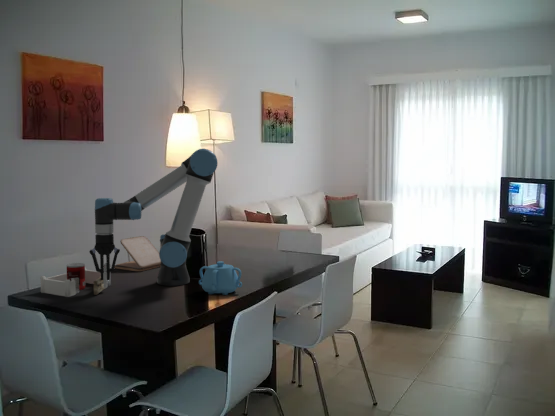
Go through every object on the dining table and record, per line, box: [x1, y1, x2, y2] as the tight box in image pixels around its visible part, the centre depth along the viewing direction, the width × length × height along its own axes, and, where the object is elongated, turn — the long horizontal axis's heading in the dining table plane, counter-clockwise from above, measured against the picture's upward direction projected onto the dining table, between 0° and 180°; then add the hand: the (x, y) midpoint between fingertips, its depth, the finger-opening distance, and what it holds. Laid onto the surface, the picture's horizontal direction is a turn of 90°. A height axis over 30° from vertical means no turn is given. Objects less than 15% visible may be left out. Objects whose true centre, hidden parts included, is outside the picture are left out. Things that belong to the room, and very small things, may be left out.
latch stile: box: [71, 277, 80, 294], centre depth 240 cm, size 2×2×6 cm
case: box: [114, 235, 161, 273], centre depth 297 cm, size 20×21×16 cm
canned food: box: [66, 262, 86, 291], centre depth 247 cm, size 8×8×11 cm
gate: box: [93, 277, 106, 296], centre depth 243 cm, size 15×1×6 cm, turn 1°
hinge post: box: [104, 262, 112, 287], centre depth 253 cm, size 3×3×11 cm
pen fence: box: [40, 266, 103, 298], centre depth 247 cm, size 17×25×7 cm
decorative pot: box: [198, 260, 243, 296], centre depth 242 cm, size 16×16×14 cm
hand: (105, 287), depth 241 cm, fingers closed
